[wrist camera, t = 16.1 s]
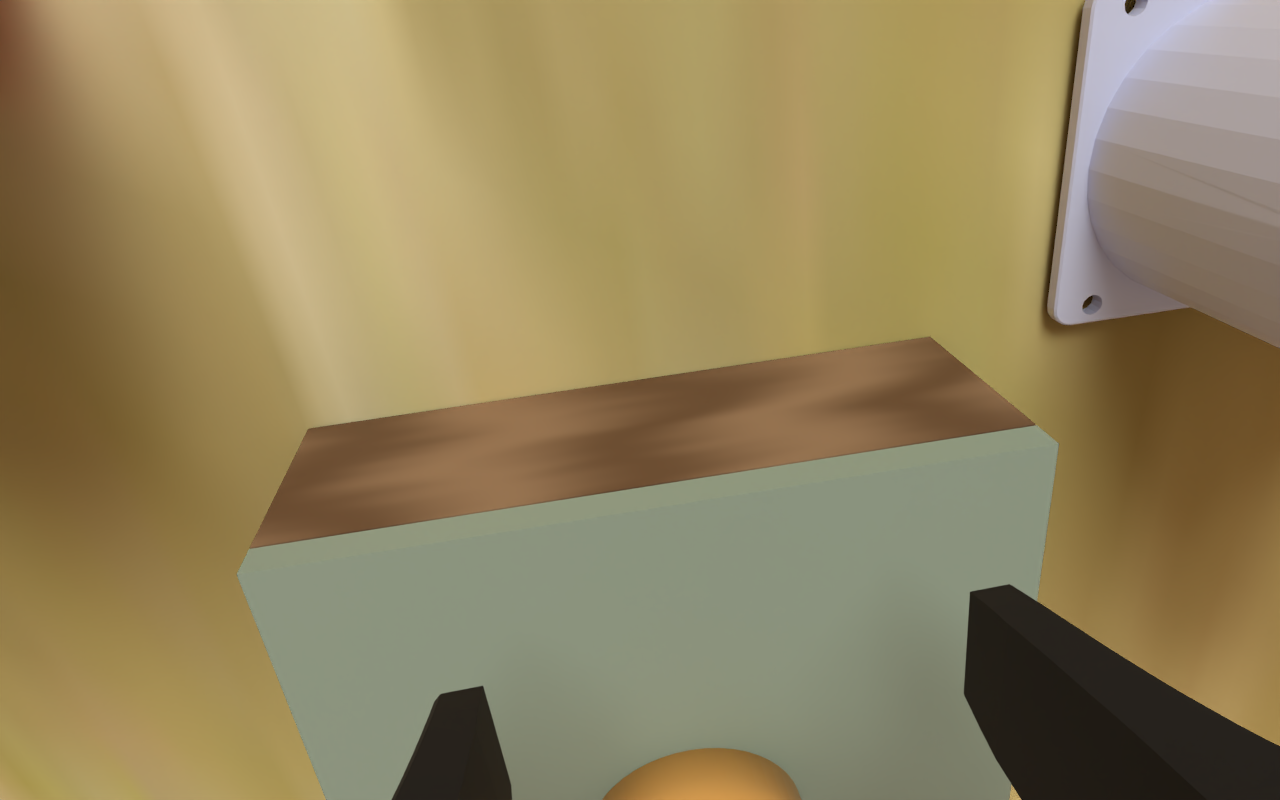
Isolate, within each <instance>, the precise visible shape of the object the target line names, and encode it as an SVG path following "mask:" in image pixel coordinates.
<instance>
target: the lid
mask: <svg viewBox="0 0 1280 800" xmlns="http://www.w3.org/2000/svg"><path fill="white" fill-rule="evenodd" d="M1058 447H1059V443H1057V442H1056V441H1055V440H1054V439H1053V438H1051V437H1050V436H1049V435H1048V434H1047V433H1045V432H1044V431H1043V430H1042V429H1041V428H1039V427H1038V426H1037V425H1035V426H1029V427H1023V428H1016V429H1010V430H1003V431H997V432H991V433H984V434H978V435H972V436H965V437H959V438H953V439H946V440H940V441H933V442H927V443H921V444H914V445H908V446H902V447H895V448H889V449H883V450H876V451H870V452H863V453H857V454H851V455H844V456H838V457H832V458H825V459H819V460H813V461H806V462H800V463H793V464H787V465H781V466H774V467H768V468H762V469H755V470H749V471H743V472H736V473H730V474H723V475H717V476H711V477H704V478H698V479H692V480H685V481H679V482H673V483H666V484H660V485H653V486H647V487H641V488H634V489H628V490H622V491H615V492H609V493H603V494H596V495H590V496H583V497H577V498H571V499H564V500H558V501H552V502H545V503H539V504H533V505H526V506H520V507H513V508H507V509H501V510H494V511H488V512H482V513H475V514H469V515H463V516H456V517H450V518H443V519H437V520H431V521H424V522H418V523H412V524H405V525H399V526H393V527H386V528H380V529H373V530H367V531H361V532H354V533H348V534H342V535H335V536H329V537H323V538H316V539H310V540H303V541H297V542H291V543H284V544H278V545H272V546H265V547H259V548H253V549H249V550H248V552H247V554H246V556H245V558H244V560H243V563H242V565H241V567H240V569H239V571H238V573H237V577H238V579H239V582H240V584H241V587H242V589H243V592H244V595H245V597H246V600H247V602H248V605H249V607H250V610H251V612H252V615H253V617H254V620H255V622H256V625H257V627H258V630H259V632H260V635H261V637H262V640H263V642H264V645H265V647H266V650H267V652H268V655H269V657H270V660H271V662H272V665H273V667H274V670H275V672H276V675H277V677H278V680H279V683H280V685H281V688H282V690H283V693H284V695H285V698H286V700H287V703H288V705H289V708H290V710H291V713H292V715H293V718H294V720H295V723H296V725H297V728H298V730H299V733H300V735H301V738H302V740H303V743H304V745H305V748H306V750H307V753H308V755H309V758H310V760H311V763H312V765H313V768H314V771H315V773H316V776H317V778H318V781H319V783H320V786H321V788H322V791H323V793H324V796H325V798H326V800H392V798H393V795H394V793H395V791H396V789H397V787H398V785H399V783H400V781H401V779H402V777H403V774H404V772H405V770H406V768H407V766H408V763H409V761H410V759H411V757H412V755H413V752H414V750H415V748H416V745H417V743H418V741H419V738H420V736H421V734H422V731H423V729H424V726H425V724H426V721H427V719H428V716H429V714H430V711H431V709H432V706H433V704H434V701H435V700H436V699H437V697H438V696H439V695H440V694H442V693H447V692H452V691H458V690H463V689H468V688H473V687H478V686H483V687H484V690H485V694H486V697H487V701H488V704H489V708H490V711H491V715H492V719H493V722H494V726H495V729H496V733H497V736H498V740H499V743H500V747H501V750H502V754H503V757H504V761H505V764H506V768H507V771H508V775H509V778H510V782H511V789H512V800H602V799H603V798H604V796H605V795H606V794H607V793H608V792H609V791H610V790H611V789H612V788H613V787H614V786H615V785H616V784H617V783H618V782H619V781H621V780H622V779H623V778H624V777H626V776H627V775H629V774H630V773H632V772H633V771H635V770H636V769H638V768H640V767H642V766H644V765H646V764H648V763H650V762H652V761H655V760H657V759H659V758H662V757H665V756H668V755H672V754H675V753H679V752H684V751H688V750H695V749H703V748H726V749H736V750H741V751H746V752H750V753H753V754H756V755H759V756H761V757H764V758H766V759H768V760H770V761H772V762H773V763H775V764H776V765H778V766H779V767H780V768H782V769H783V770H784V771H785V772H786V773H787V774H788V775H789V776H790V778H791V779H792V780H793V782H794V783H795V785H796V787H797V789H798V792H799V795H800V797H801V800H1009V797H1010V790H1011V782H1010V781H1009V779H1008V778H1007V776H1006V775H1005V773H1004V771H1003V770H1002V768H1001V767H1000V765H999V764H998V762H997V760H996V759H995V757H994V755H993V753H992V751H991V749H990V747H989V745H988V743H987V741H986V739H985V737H984V735H983V733H982V731H981V729H980V727H979V725H978V723H977V721H976V719H975V717H974V715H973V713H972V710H971V708H970V706H969V704H968V702H967V700H966V698H965V696H964V680H965V664H966V648H967V632H968V616H969V600H970V592H971V591H976V590H982V589H987V588H992V587H997V586H1002V585H1008V584H1010V585H1012V586H1014V587H1015V588H1017V589H1018V590H1020V591H1022V592H1023V593H1025V594H1026V595H1028V596H1029V597H1031V598H1033V599H1034V600H1036V601H1037V597H1038V590H1039V583H1040V576H1041V569H1042V562H1043V554H1044V547H1045V540H1046V533H1047V526H1048V519H1049V512H1050V504H1051V497H1052V490H1053V483H1054V476H1055V469H1056V462H1057V454H1058Z"/></svg>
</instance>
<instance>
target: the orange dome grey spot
mask: <svg viewBox="0 0 1280 800" xmlns="http://www.w3.org/2000/svg"><path fill="white" fill-rule="evenodd" d="M602 800H801V797H800V795H799V792H798V789H797V787H796V785H795V783H794V782H793V780H792V779H791V778H790V776H789V775H788V774H787V773H786V772H785V771H784V770H783V769H782V768H780V767H779V766H778V765H776V764H775V763H773V762H772V761H770V760H768V759H766V758H764V757H761V756H759V755H756V754H753V753H750V752H746V751H741V750H736V749H726V748H703V749H695V750H688V751H684V752H679V753H675V754H672V755H668V756H665V757H662V758H659V759H657V760H655V761H652V762H650V763H648V764H646V765H644V766H642V767H640V768H638V769H636V770H635V771H633V772H632V773H630V774H629V775H627V776H626V777H624V778H623V779H622V780H621V781H619V782H618V783H617V784H616V785H615V786H614V787H613V788H612V789H611V790H610V791H609V792H608V793H607V794H606V795H605V796H604V798H603V799H602Z"/></svg>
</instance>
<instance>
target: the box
mask: <svg viewBox="0 0 1280 800" xmlns="http://www.w3.org/2000/svg"><path fill="white" fill-rule="evenodd" d="M1029 426H1035V423H1033V422H1032V421H1031V420H1030V419H1029V418H1027V417H1026V416H1025V415H1024V414H1023V413H1021V412H1020V411H1019V410H1018V409H1017V408H1015V407H1014V406H1013V405H1012V404H1011V403H1009V402H1008V401H1007V400H1006V399H1005V398H1003V397H1002V396H1001V395H1000V394H998V393H997V392H996V391H995V390H994V389H992V388H991V387H990V386H989V385H988V384H986V383H985V382H984V381H983V380H982V379H980V378H979V377H978V376H977V375H976V374H974V373H973V372H972V371H971V370H970V369H968V368H967V367H966V366H965V365H964V364H962V363H961V362H960V361H959V360H957V359H956V358H955V357H954V356H953V355H951V354H950V353H949V352H948V351H947V350H945V349H944V348H943V347H942V346H941V345H939V344H938V343H937V342H936V341H935V340H933V339H932V338H931V337H926V338H919V339H912V340H905V341H898V342H892V343H885V344H878V345H871V346H865V347H858V348H851V349H844V350H838V351H831V352H824V353H817V354H811V355H804V356H797V357H790V358H784V359H777V360H770V361H763V362H757V363H750V364H743V365H736V366H730V367H723V368H716V369H709V370H703V371H696V372H689V373H682V374H676V375H669V376H662V377H655V378H649V379H642V380H635V381H628V382H622V383H615V384H608V385H601V386H595V387H588V388H581V389H574V390H568V391H561V392H554V393H547V394H541V395H534V396H527V397H520V398H514V399H507V400H500V401H493V402H487V403H480V404H473V405H466V406H460V407H453V408H446V409H439V410H433V411H426V412H419V413H412V414H406V415H399V416H392V417H385V418H379V419H372V420H365V421H358V422H352V423H345V424H338V425H331V426H325V427H318V428H311V429H308V431H307V433H306V435H305V437H304V439H303V441H302V443H301V445H300V447H299V449H298V451H297V453H296V455H295V457H294V459H293V461H292V463H291V465H290V467H289V469H288V471H287V473H286V475H285V477H284V479H283V481H282V483H281V485H280V487H279V489H278V491H277V493H276V495H275V497H274V499H273V502H272V504H271V506H270V508H269V510H268V512H267V514H266V516H265V518H264V520H263V522H262V524H261V526H260V528H259V530H258V532H257V534H256V536H255V538H254V540H253V542H252V544H251V546H250V549H253V548H259V547H265V546H272V545H278V544H284V543H291V542H297V541H303V540H310V539H316V538H323V537H329V536H335V535H342V534H348V533H354V532H361V531H367V530H373V529H380V528H386V527H393V526H399V525H405V524H412V523H418V522H424V521H431V520H437V519H443V518H450V517H456V516H463V515H469V514H475V513H482V512H488V511H494V510H501V509H507V508H513V507H520V506H526V505H533V504H539V503H545V502H552V501H558V500H564V499H571V498H577V497H583V496H590V495H596V494H603V493H609V492H615V491H622V490H628V489H634V488H641V487H647V486H653V485H660V484H666V483H673V482H679V481H685V480H692V479H698V478H704V477H711V476H717V475H723V474H730V473H736V472H743V471H749V470H755V469H762V468H768V467H774V466H781V465H787V464H793V463H800V462H806V461H813V460H819V459H825V458H832V457H838V456H844V455H851V454H857V453H863V452H870V451H876V450H883V449H889V448H895V447H902V446H908V445H914V444H921V443H927V442H933V441H940V440H946V439H953V438H959V437H965V436H972V435H978V434H984V433H991V432H997V431H1003V430H1010V429H1016V428H1023V427H1029Z"/></svg>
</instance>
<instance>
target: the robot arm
mask: <svg viewBox="0 0 1280 800" xmlns="http://www.w3.org/2000/svg"><path fill="white" fill-rule="evenodd" d="M1125 2H1126V0H1085V3H1084V7H1083V13H1082V22H1081V30H1080V38H1079V47H1078V55H1077V63H1076V71H1075V80H1074V88H1073V96H1072V105H1071V113H1070V121H1069V130H1068V138H1067V146H1066V154H1065V163H1064V171H1063V179H1062V188H1061V196H1060V204H1059V213H1058V221H1057V229H1056V237H1055V246H1054V254H1053V262H1052V271H1051V279H1050V287H1049V296H1048V304H1047V309H1048V314H1049V315H1050V317H1051V318H1052V319H1054V320H1055V321H1057V322H1059V323H1061V324H1062V325H1075V324H1081V323H1088V322H1095V321H1102V320H1108V319H1115V318H1122V317H1129V316H1135V315H1142V314H1149V313H1155V312H1162V311H1169V310H1176V309H1182V308H1189V307H1191V308H1193V309H1196V310H1198V311H1200V312H1202V313H1204V314H1206V315H1209V316H1211V317H1213V318H1215V319H1217V320H1219V321H1222V322H1224V323H1226V324H1228V325H1230V326H1232V327H1235V328H1237V329H1239V330H1241V331H1243V332H1245V333H1247V334H1250V335H1252V336H1254V337H1256V338H1258V339H1260V340H1263V341H1265V342H1267V343H1269V344H1271V345H1273V346H1276V347H1278V348H1280V0H1136V3H1135V5H1134V8H1133V9H1132V10H1131V12H1130V13H1129V14H1127V12H1126V11H1125ZM1090 296H1093V299H1092V302H1091V304H1090V305H1089V306H1088V307H1087V308H1084V309H1083V308H1082V306H1083V303H1084V301H1085V300H1086V299H1087V298H1088V297H1090ZM964 696H965V698H966V700H967V702H968V704H969V706H970V708H971V710H972V713H973V715H974V717H975V719H976V721H977V723H978V725H979V727H980V729H981V731H982V733H983V735H984V737H985V739H986V741H987V743H988V745H989V747H990V749H991V751H992V753H993V755H994V757H995V759H996V760H997V762H998V764H999V765H1000V767H1001V768H1002V770H1003V771H1004V773H1005V775H1006V776H1007V778H1008V779H1009V781H1010V782H1011V784H1012V786H1013V787H1014V789H1015V790H1016V792H1017V793H1018V795H1019V796H1020V798H1021V799H1022V800H1280V746H1278V745H1276V744H1274V743H1272V742H1270V741H1268V740H1266V739H1264V738H1262V737H1260V736H1258V735H1256V734H1254V733H1253V732H1251V731H1249V730H1247V729H1245V728H1243V727H1241V726H1239V725H1237V724H1236V723H1234V722H1232V721H1230V720H1228V719H1227V718H1225V717H1223V716H1221V715H1220V714H1218V713H1216V712H1214V711H1212V710H1211V709H1209V708H1207V707H1205V706H1204V705H1202V704H1200V703H1198V702H1196V701H1195V700H1193V699H1191V698H1189V697H1188V696H1186V695H1184V694H1183V693H1181V692H1179V691H1177V690H1176V689H1174V688H1172V687H1171V686H1169V685H1167V684H1166V683H1164V682H1162V681H1161V680H1159V679H1157V678H1156V677H1154V676H1152V675H1151V674H1149V673H1147V672H1146V671H1144V670H1143V669H1141V668H1139V667H1138V666H1136V665H1135V664H1133V663H1131V662H1130V661H1128V660H1127V659H1125V658H1123V657H1122V656H1120V655H1119V654H1117V653H1115V652H1114V651H1112V650H1111V649H1109V648H1108V647H1106V646H1104V645H1103V644H1101V643H1100V642H1098V641H1097V640H1095V639H1094V638H1092V637H1091V636H1089V635H1087V634H1086V633H1084V632H1083V631H1081V630H1080V629H1078V628H1077V627H1075V626H1074V625H1072V624H1071V623H1069V622H1068V621H1066V620H1065V619H1063V618H1061V617H1060V616H1058V615H1057V614H1055V613H1054V612H1052V611H1051V610H1049V609H1048V608H1046V607H1045V606H1043V605H1042V604H1040V603H1039V602H1037V601H1036V600H1034V599H1033V598H1031V597H1029V596H1028V595H1026V594H1025V593H1023V592H1022V591H1020V590H1018V589H1017V588H1015V587H1014V586H1012V585H1010V584H1008V585H1002V586H997V587H992V588H987V589H982V590H976V591H971V592H970V600H969V616H968V632H967V648H966V664H965V680H964ZM392 800H512V789H511V782H510V778H509V775H508V771H507V768H506V764H505V761H504V757H503V754H502V750H501V747H500V743H499V740H498V736H497V733H496V729H495V726H494V722H493V719H492V715H491V711H490V708H489V704H488V701H487V697H486V694H485V690H484V687H483V686H478V687H473V688H468V689H463V690H458V691H452V692H447V693H442V694H440V695H439V696H438V697H437V699H436V700H435V701H434V704H433V706H432V709H431V711H430V714H429V716H428V719H427V721H426V724H425V726H424V729H423V731H422V734H421V736H420V738H419V741H418V743H417V745H416V748H415V750H414V752H413V755H412V757H411V759H410V761H409V763H408V766H407V768H406V770H405V772H404V774H403V777H402V779H401V781H400V783H399V785H398V787H397V789H396V791H395V793H394V795H393V798H392Z"/></svg>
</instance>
